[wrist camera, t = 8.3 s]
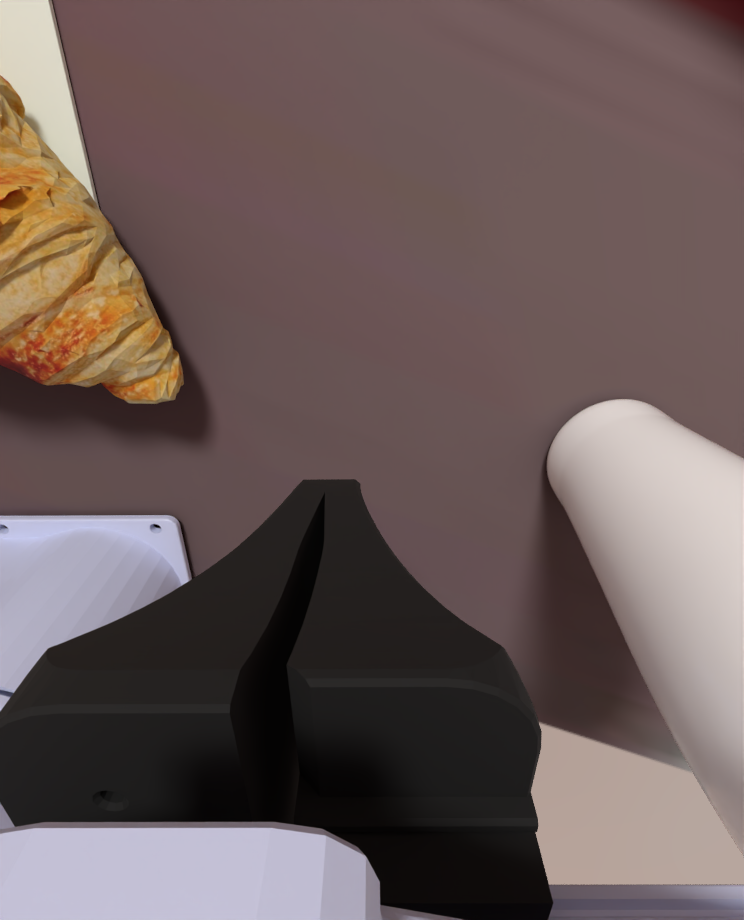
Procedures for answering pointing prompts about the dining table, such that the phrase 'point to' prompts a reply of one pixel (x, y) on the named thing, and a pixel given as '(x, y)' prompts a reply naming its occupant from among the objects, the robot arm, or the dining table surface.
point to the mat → (43, 81)
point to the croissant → (70, 280)
